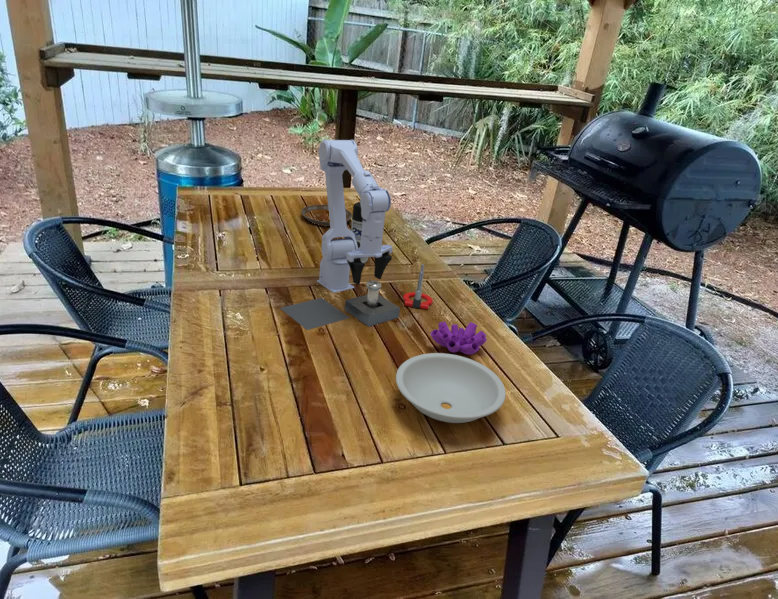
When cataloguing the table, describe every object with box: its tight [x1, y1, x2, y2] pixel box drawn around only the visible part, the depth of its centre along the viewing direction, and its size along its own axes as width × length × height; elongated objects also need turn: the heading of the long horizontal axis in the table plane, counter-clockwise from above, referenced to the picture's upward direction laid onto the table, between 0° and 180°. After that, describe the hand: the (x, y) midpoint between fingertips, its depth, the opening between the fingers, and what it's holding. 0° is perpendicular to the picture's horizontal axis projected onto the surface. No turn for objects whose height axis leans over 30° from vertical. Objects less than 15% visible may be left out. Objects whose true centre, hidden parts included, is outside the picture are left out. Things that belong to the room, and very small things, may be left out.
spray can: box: [350, 201, 369, 264], centre depth 190 cm, size 7×7×20 cm
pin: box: [366, 279, 382, 309], centre depth 157 cm, size 4×4×10 cm
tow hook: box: [402, 263, 434, 310], centre depth 168 cm, size 9×14×10 cm
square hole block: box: [344, 294, 401, 328], centre depth 159 cm, size 11×11×4 cm
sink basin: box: [395, 352, 507, 424], centre depth 123 cm, size 24×24×7 cm
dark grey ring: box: [301, 204, 353, 227], centre depth 229 cm, size 21×21×3 cm
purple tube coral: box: [430, 321, 488, 355], centre depth 146 cm, size 11×15×10 cm
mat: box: [279, 297, 350, 331], centre depth 156 cm, size 14×14×1 cm
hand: (367, 280), depth 155 cm, fingers open, 7 cm apart
